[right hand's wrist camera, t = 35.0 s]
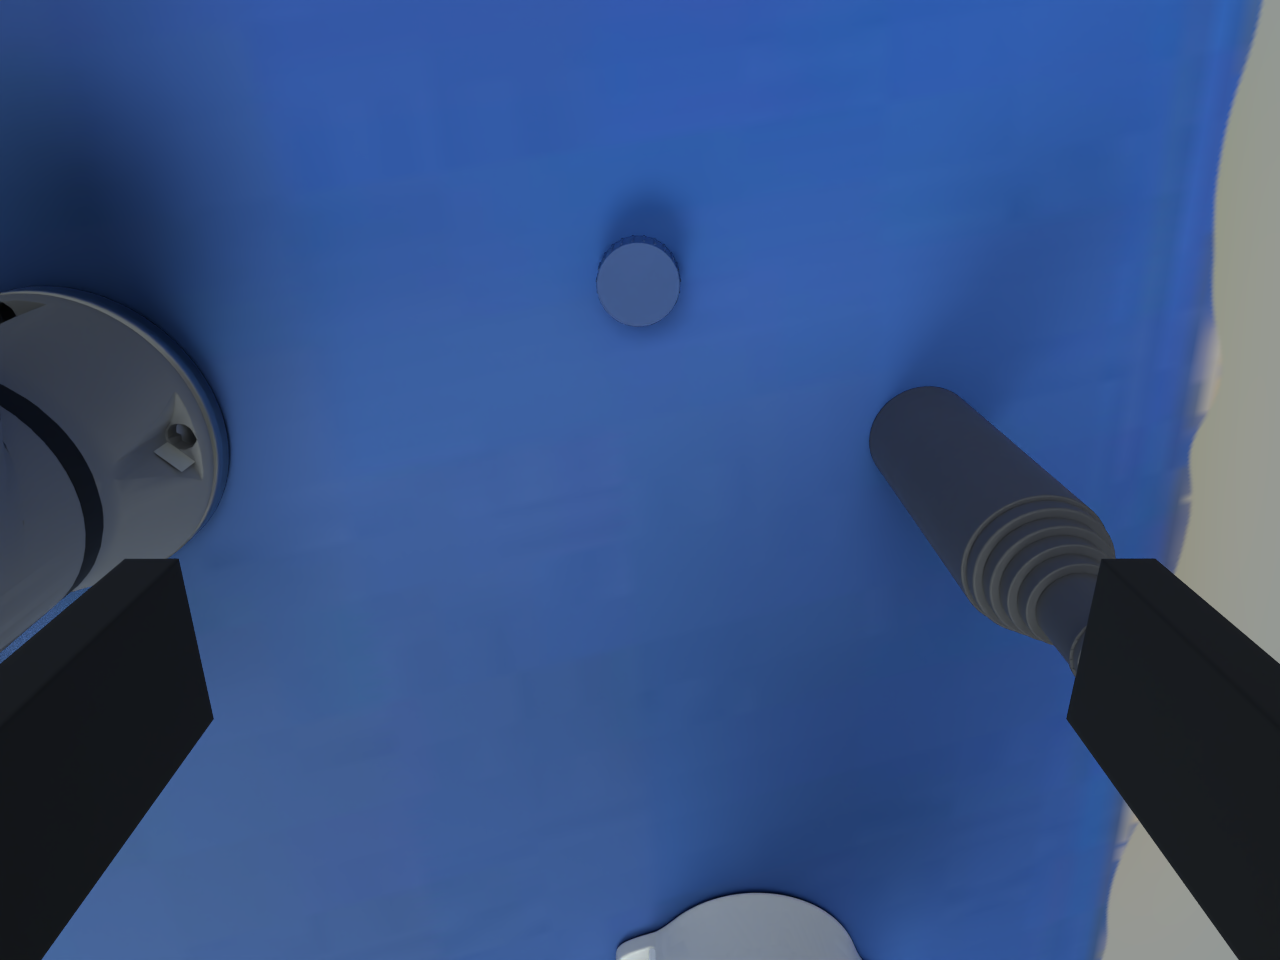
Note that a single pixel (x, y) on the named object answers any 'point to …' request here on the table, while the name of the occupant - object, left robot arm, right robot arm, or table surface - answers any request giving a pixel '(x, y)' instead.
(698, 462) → the table surface
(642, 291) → the cap
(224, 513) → the table surface
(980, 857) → the table surface
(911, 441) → the bottle
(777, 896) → the left robot arm
